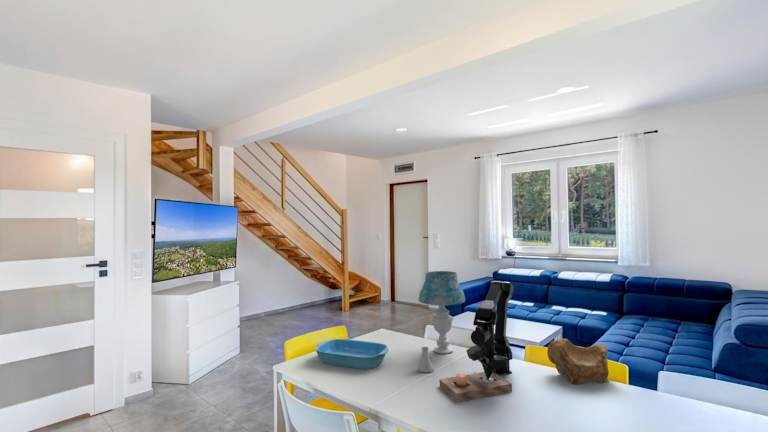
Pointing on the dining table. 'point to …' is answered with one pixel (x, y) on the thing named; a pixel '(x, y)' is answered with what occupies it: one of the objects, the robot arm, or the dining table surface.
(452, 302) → the table lamp
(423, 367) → the flask
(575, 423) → the dining table surface
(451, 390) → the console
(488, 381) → the steel plunger
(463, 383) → the peach rounded cylinder
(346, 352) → the casserole dish
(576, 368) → the rough brown rock
